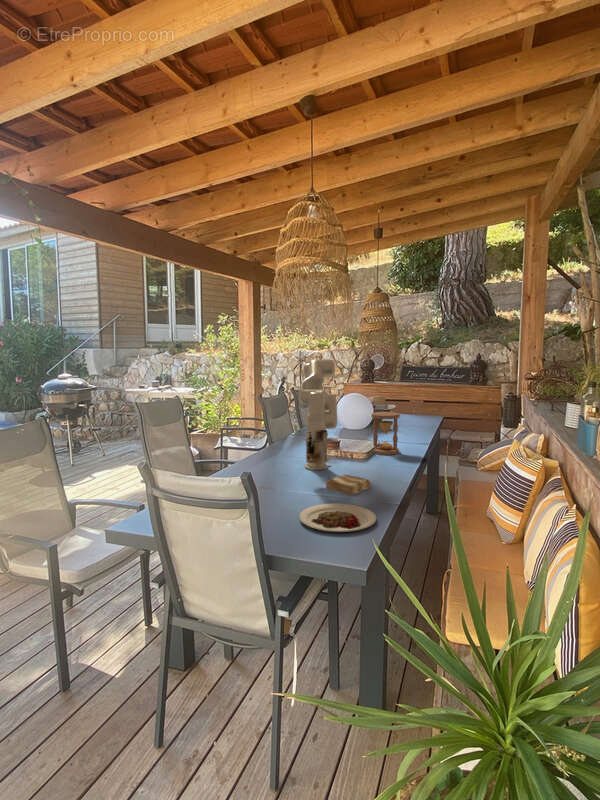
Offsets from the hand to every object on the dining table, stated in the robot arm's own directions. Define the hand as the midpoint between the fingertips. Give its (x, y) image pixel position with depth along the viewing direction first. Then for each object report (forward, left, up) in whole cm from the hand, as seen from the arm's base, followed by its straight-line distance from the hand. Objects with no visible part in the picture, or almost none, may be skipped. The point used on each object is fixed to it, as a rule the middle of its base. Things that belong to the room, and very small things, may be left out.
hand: (316, 451), depth 234 cm
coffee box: (0, 0, -5) cm, 5 cm away
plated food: (+33, +39, -17) cm, 53 cm away
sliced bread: (-4, +16, -16) cm, 23 cm away
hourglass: (-82, -13, -16) cm, 85 cm away
